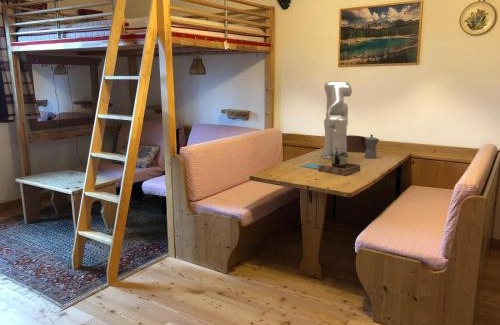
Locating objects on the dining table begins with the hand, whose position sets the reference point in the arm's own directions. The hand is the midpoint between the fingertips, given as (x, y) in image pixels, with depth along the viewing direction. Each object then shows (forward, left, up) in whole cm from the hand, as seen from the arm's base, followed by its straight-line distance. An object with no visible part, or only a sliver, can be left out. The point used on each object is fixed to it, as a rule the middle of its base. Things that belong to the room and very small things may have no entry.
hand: (339, 163), depth 274 cm
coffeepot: (-6, +53, -6) cm, 53 cm away
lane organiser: (-1, 0, -5) cm, 5 cm away
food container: (0, +1, -3) cm, 3 cm away
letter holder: (-29, +69, -6) cm, 75 cm away
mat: (-20, 0, -5) cm, 21 cm away
